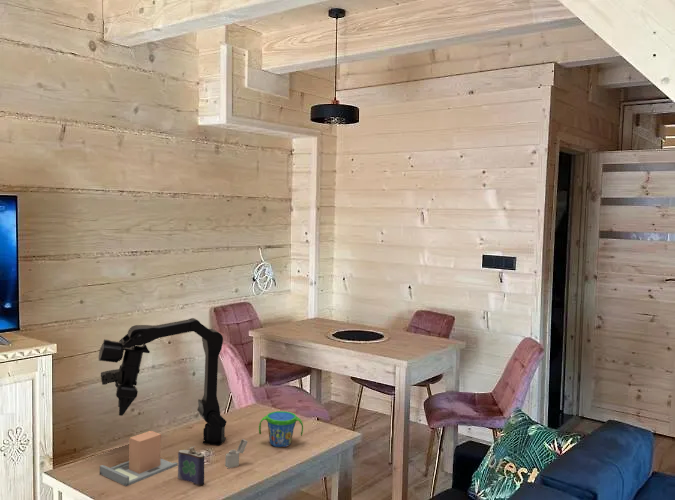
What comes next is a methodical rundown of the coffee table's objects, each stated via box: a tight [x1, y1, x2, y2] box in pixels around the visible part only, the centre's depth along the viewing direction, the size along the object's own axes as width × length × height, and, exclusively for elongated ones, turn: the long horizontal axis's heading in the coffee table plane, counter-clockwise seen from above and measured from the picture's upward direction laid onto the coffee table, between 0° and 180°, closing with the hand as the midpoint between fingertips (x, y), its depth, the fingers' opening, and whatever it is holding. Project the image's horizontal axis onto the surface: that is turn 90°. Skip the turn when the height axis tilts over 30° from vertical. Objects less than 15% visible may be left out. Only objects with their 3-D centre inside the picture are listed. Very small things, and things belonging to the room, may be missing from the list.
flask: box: [177, 445, 205, 487], centre depth 181 cm, size 9×3×11 cm, turn 65°
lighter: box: [225, 438, 249, 470], centre depth 194 cm, size 7×2×8 cm, turn 129°
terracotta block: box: [128, 430, 162, 474], centre depth 189 cm, size 8×5×10 cm, turn 145°
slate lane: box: [99, 458, 178, 487], centre depth 187 cm, size 19×13×3 cm
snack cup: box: [258, 410, 304, 448], centre depth 213 cm, size 16×10×10 cm
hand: (120, 411), depth 197 cm, fingers open, 9 cm apart
